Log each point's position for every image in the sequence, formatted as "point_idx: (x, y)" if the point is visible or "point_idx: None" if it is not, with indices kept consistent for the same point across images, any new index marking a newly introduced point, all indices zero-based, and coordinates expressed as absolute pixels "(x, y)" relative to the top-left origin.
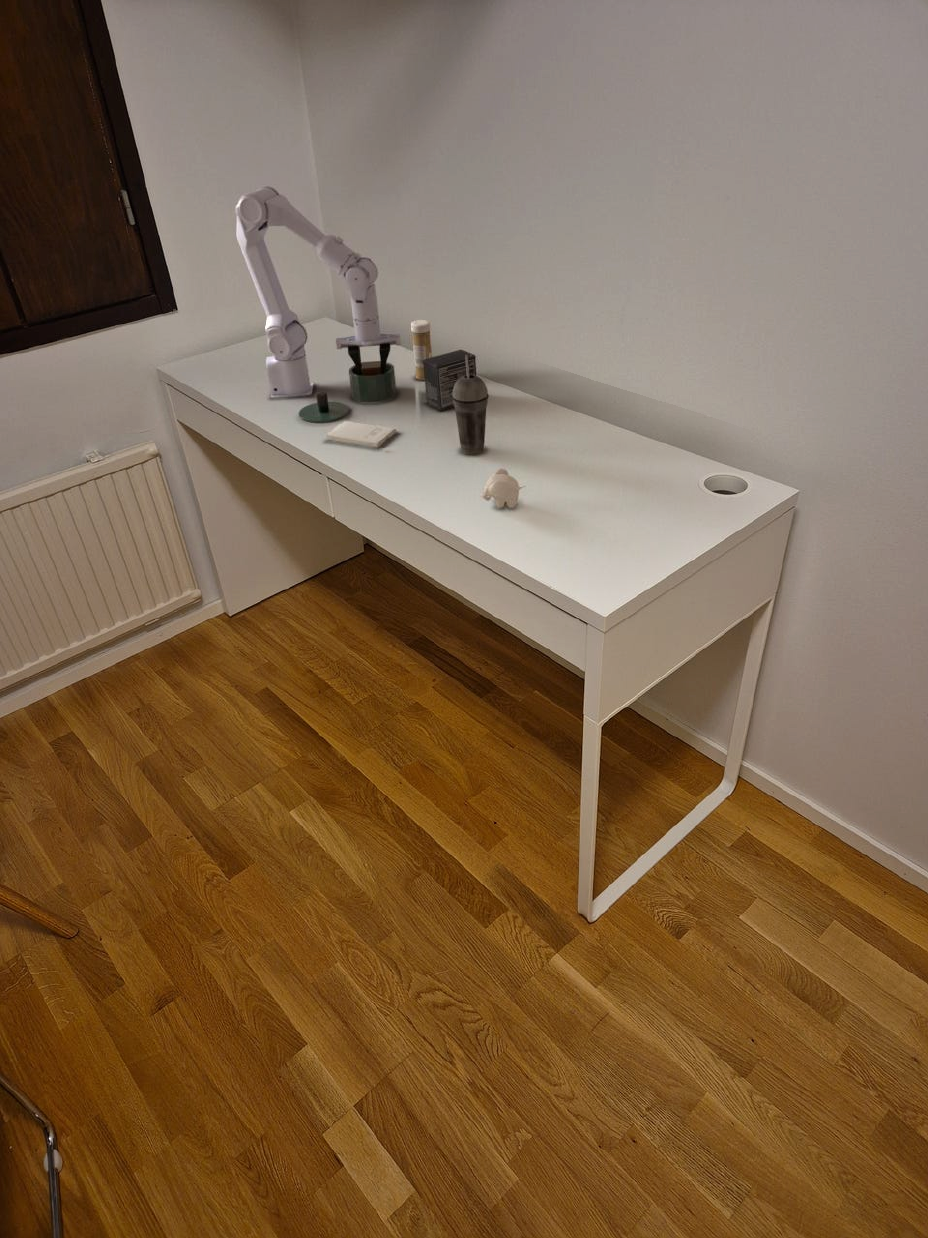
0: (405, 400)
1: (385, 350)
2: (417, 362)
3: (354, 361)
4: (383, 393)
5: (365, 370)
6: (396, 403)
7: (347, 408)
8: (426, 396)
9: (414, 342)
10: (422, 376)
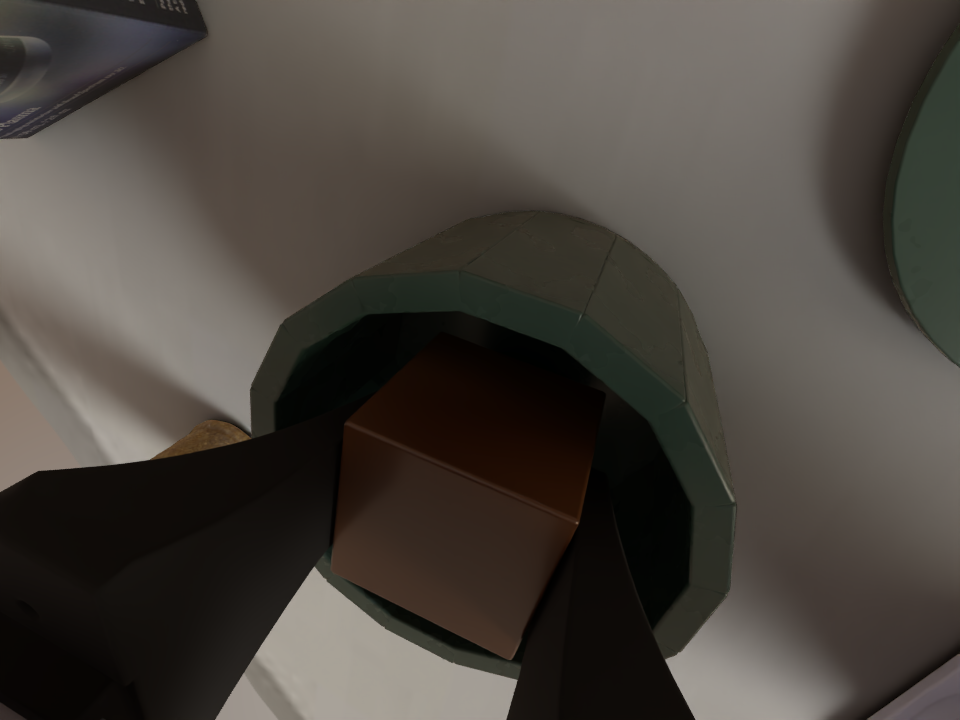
0: (345, 183)
1: (16, 518)
2: None
3: (655, 665)
4: (466, 225)
5: (535, 479)
6: (411, 151)
7: (948, 86)
8: (150, 11)
9: None
10: (226, 441)
